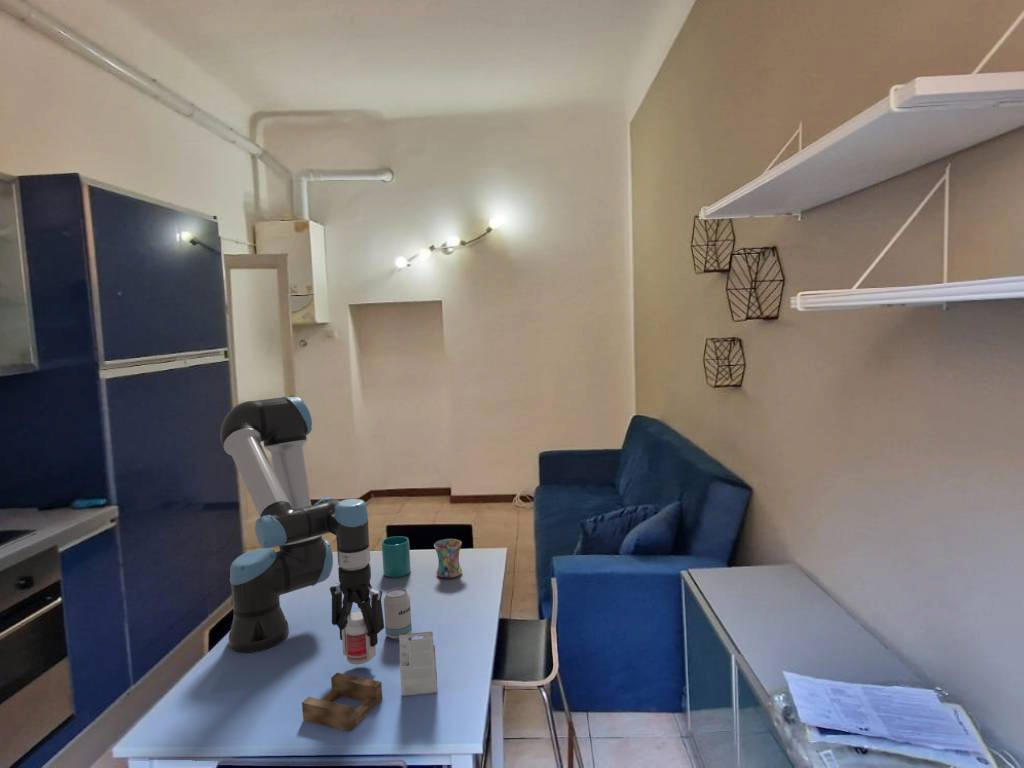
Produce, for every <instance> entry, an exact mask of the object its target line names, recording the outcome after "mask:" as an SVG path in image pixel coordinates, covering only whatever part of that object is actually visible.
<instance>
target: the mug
mask: <svg viewBox="0 0 1024 768" xmlns="http://www.w3.org/2000/svg"><path fill="white" fill-rule="evenodd" d="M462 545H463V542H462V540H459V539H455V538H445V539H440V540H437V541H436V542H435V543H434V544H433V547H434V549H435V552H436V554H437V557H438V558H437V559H438V566H437V570H436V575H437V577H439V578H444V579H451V578H456V577H459V576H460V575H461V574H462V572H463V570H462V568H461V565H460V558H459V557H460V551H461V548H462Z"/></svg>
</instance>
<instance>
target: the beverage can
mask: <svg viewBox="0 0 1024 768" xmlns="http://www.w3.org/2000/svg"><path fill="white" fill-rule="evenodd" d="M410 596H411V595H409V593H408V591H407V589H406V588H404V587H394V588H391V589H389V590H387V591H386V592H385V595H384V598H383V610H384V611H383V613H384V614H383V615H384V628H385V635H386V636H387V637H389V638H390V639H392V640H399V635H402V634H412V633H411V632H412V631H413V630H412V628H413V627H412V614H411V613H412V612H411V611H412V610H411V597H410Z"/></svg>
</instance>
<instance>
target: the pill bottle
mask: <svg viewBox="0 0 1024 768" xmlns="http://www.w3.org/2000/svg"><path fill="white" fill-rule="evenodd" d="M347 619H348V621H347V622H348V624H347V626H346V628H345V638H346V655H345V656H346V661H347V662H348V663H349V664H351V665H363V664H365V663H368V662H369V661H368V660H367V653H366V636H365V635H366V634H367V633H368V631H367V628H366V625H365V621H364V618H363V615H362V612H361V610H360V611H355V612H351V613H350V614H349V615H348V617H347Z"/></svg>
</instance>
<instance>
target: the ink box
mask: <svg viewBox="0 0 1024 768" xmlns="http://www.w3.org/2000/svg"><path fill="white" fill-rule="evenodd" d="M433 633H434V632H433V631H425V632H415V633H410V634H402V635H399V639H398V640H399V655H398V657H399V670H400V689H401V697H402V696H403V697H407V696H408V697H410V696H418V695H420V696H421V695H428V694H429V695H430V694H435V693H438V674H437V660H436V647H435V646H436V645H435V644H434V635H433ZM415 636H416V637H423V638H418V639H410V638H415Z"/></svg>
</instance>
